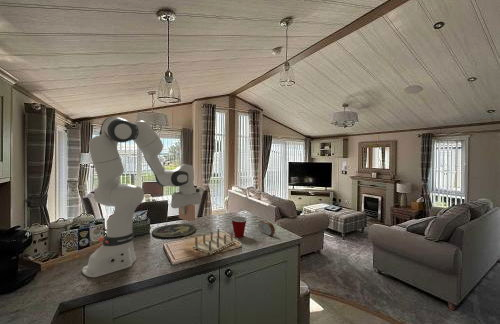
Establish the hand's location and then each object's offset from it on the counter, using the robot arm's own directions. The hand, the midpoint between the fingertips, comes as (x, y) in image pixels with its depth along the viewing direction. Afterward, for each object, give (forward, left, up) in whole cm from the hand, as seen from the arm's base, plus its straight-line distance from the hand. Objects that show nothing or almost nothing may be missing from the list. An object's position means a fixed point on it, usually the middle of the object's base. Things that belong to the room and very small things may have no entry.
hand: (186, 213), depth 139 cm
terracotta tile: (0, 0, -4) cm, 4 cm away
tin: (+41, -31, -19) cm, 55 cm away
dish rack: (+6, -17, -18) cm, 26 cm away
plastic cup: (+27, -19, -18) cm, 38 cm away
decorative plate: (+9, +25, -19) cm, 33 cm away
